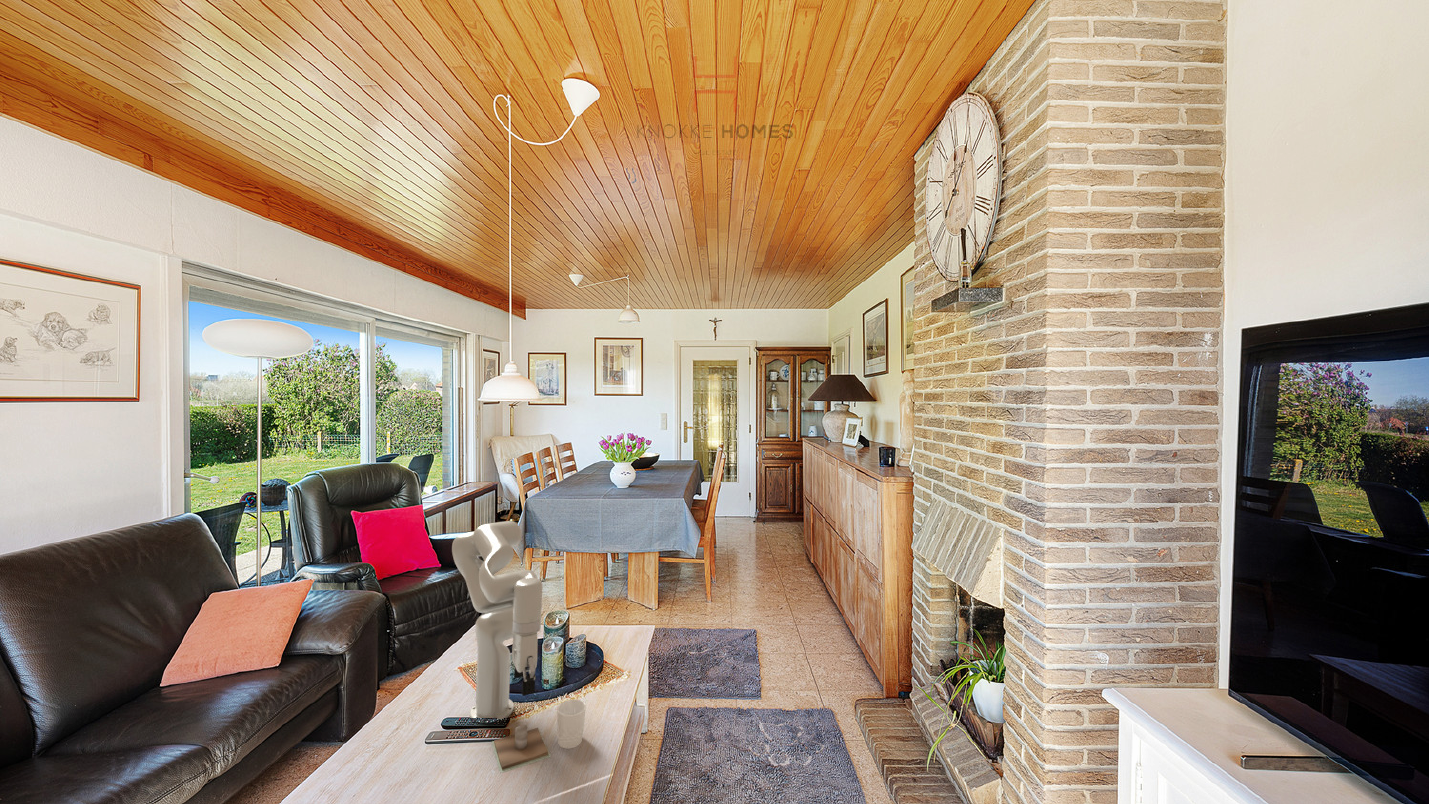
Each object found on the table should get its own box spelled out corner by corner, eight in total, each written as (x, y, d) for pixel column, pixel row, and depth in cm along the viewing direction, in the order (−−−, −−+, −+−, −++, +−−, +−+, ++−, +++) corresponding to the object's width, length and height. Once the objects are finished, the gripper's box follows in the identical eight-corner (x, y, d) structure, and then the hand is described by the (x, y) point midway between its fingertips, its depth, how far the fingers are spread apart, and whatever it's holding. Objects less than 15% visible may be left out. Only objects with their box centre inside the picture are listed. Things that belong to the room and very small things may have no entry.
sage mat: (491, 743, 147) (491, 741, 147) (538, 729, 154) (538, 727, 154) (500, 774, 135) (500, 772, 135) (550, 757, 142) (551, 756, 142)
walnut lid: (494, 743, 146) (494, 722, 146) (537, 730, 153) (538, 710, 153) (501, 769, 136) (502, 747, 136) (548, 754, 143) (549, 733, 143)
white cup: (576, 753, 144) (577, 717, 144) (550, 748, 146) (552, 713, 146) (588, 735, 152) (590, 701, 152) (564, 731, 154) (565, 697, 154)
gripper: (506, 615, 150) (503, 673, 150) (519, 640, 135) (516, 705, 135) (533, 610, 154) (530, 667, 154) (548, 634, 139) (545, 697, 139)
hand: (524, 685), depth 145 cm, fingers open, 9 cm apart
